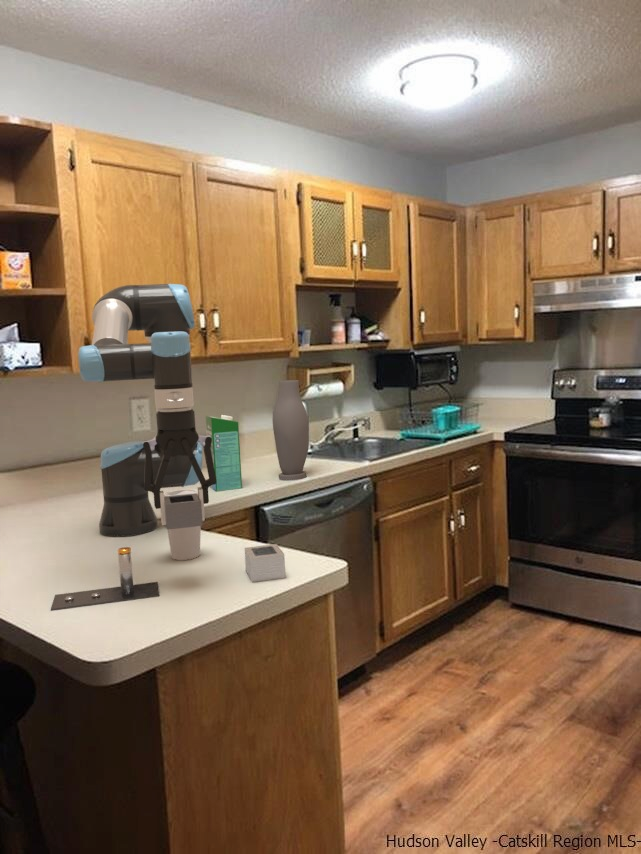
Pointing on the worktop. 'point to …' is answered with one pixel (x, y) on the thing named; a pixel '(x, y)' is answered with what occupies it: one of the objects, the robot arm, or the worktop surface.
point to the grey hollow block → (183, 511)
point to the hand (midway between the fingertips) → (183, 521)
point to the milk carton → (225, 452)
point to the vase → (290, 431)
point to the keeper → (110, 589)
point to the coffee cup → (184, 535)
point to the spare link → (265, 562)
